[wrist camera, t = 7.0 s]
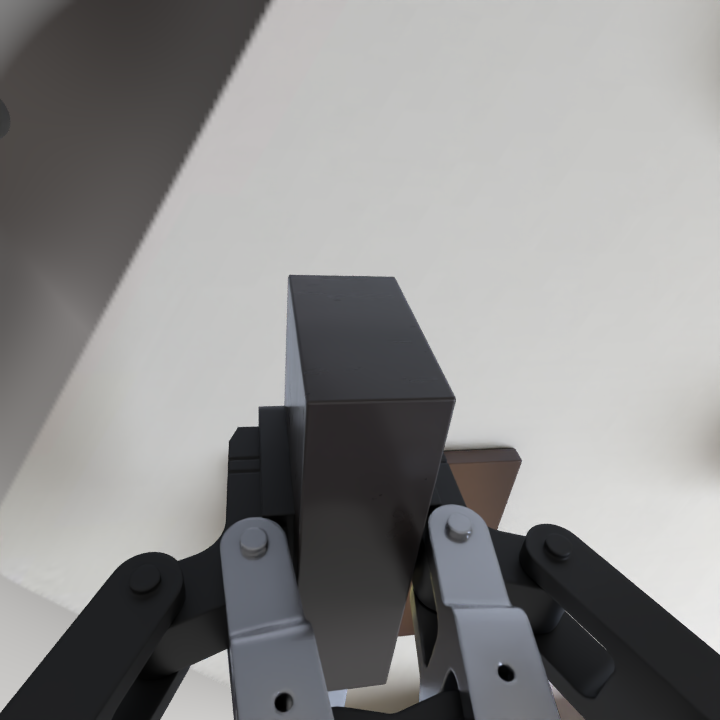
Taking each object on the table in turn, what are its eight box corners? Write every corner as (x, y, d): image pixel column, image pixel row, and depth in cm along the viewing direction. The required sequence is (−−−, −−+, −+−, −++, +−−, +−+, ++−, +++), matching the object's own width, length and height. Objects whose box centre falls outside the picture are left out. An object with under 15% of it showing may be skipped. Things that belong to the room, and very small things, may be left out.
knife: (287, 273, 12) (305, 402, 8) (395, 276, 12) (457, 398, 9) (275, 701, 22) (281, 842, 19) (334, 693, 23) (350, 829, 19)
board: (254, 637, 36) (254, 652, 35) (253, 458, 27) (253, 473, 26) (456, 616, 39) (460, 630, 38) (515, 447, 30) (522, 460, 29)
